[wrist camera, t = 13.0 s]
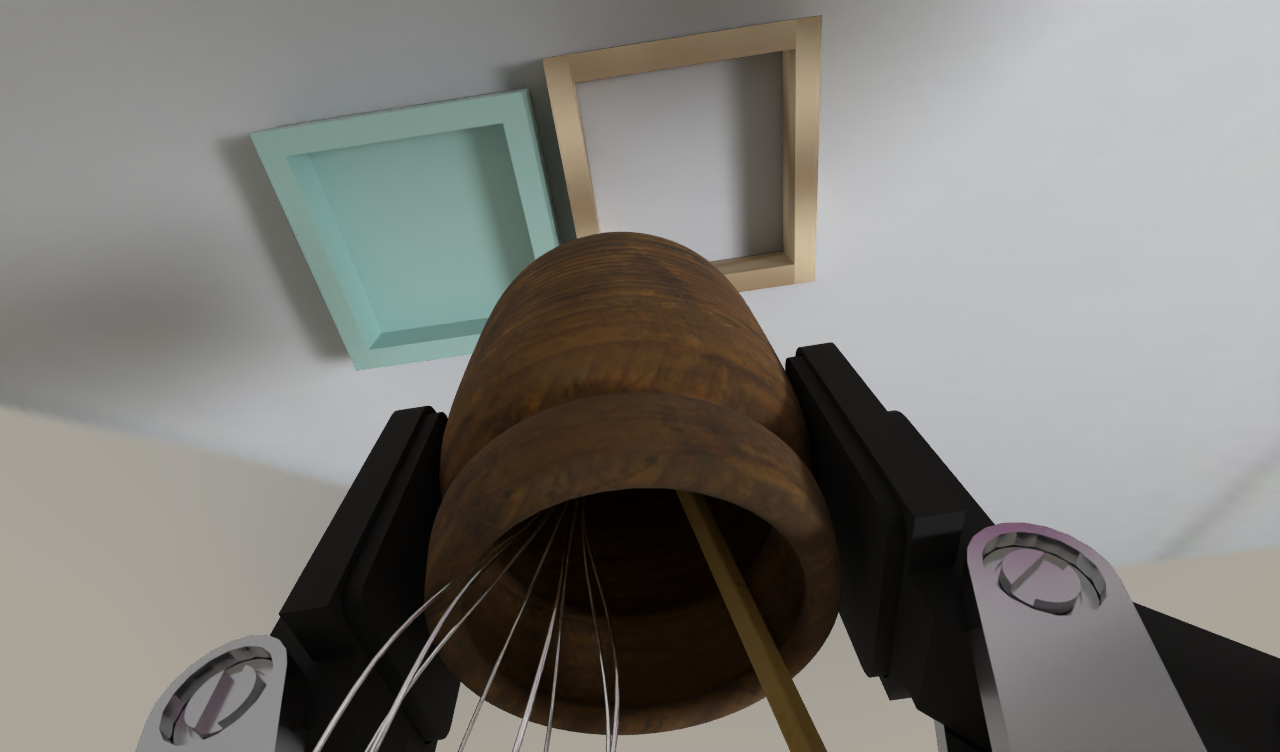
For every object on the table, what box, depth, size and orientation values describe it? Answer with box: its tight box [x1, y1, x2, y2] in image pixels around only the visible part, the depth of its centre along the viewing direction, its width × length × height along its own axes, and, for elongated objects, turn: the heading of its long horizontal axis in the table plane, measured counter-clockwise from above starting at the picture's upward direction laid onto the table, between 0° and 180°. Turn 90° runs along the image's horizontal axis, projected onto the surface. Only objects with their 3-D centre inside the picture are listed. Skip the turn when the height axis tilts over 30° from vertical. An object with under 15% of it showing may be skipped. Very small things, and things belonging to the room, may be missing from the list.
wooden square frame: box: [542, 15, 822, 292], centre depth 26 cm, size 11×11×2 cm
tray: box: [249, 88, 562, 371], centre depth 26 cm, size 11×11×2 cm
